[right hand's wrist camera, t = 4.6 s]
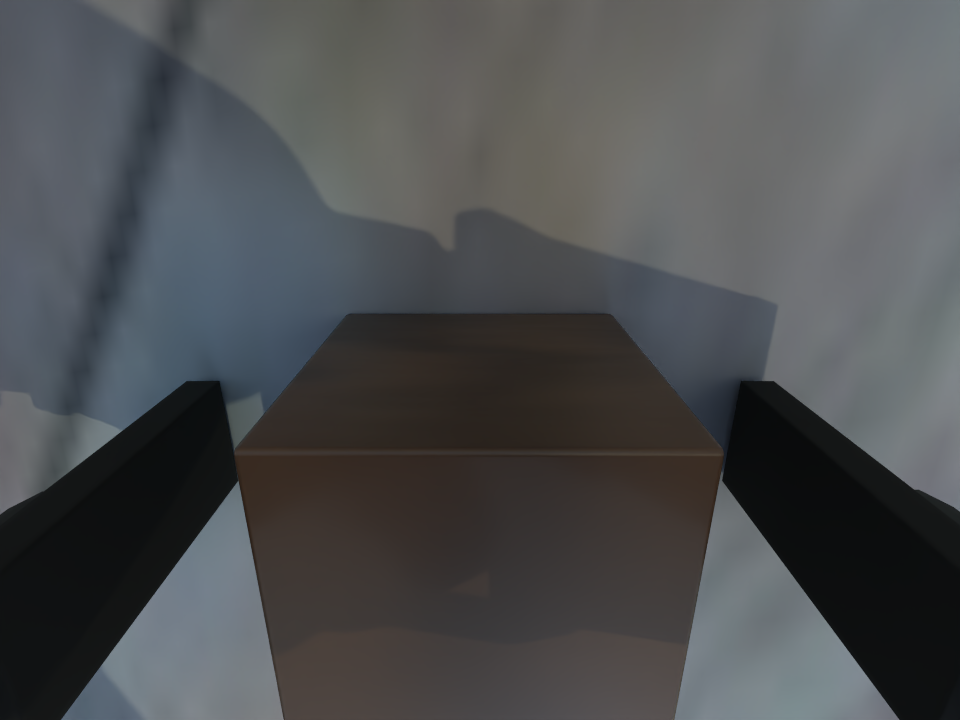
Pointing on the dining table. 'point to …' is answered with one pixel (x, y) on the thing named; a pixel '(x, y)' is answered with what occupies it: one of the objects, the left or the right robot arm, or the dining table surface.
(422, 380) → the walnut block
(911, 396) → the dining table surface
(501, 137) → the dining table surface
